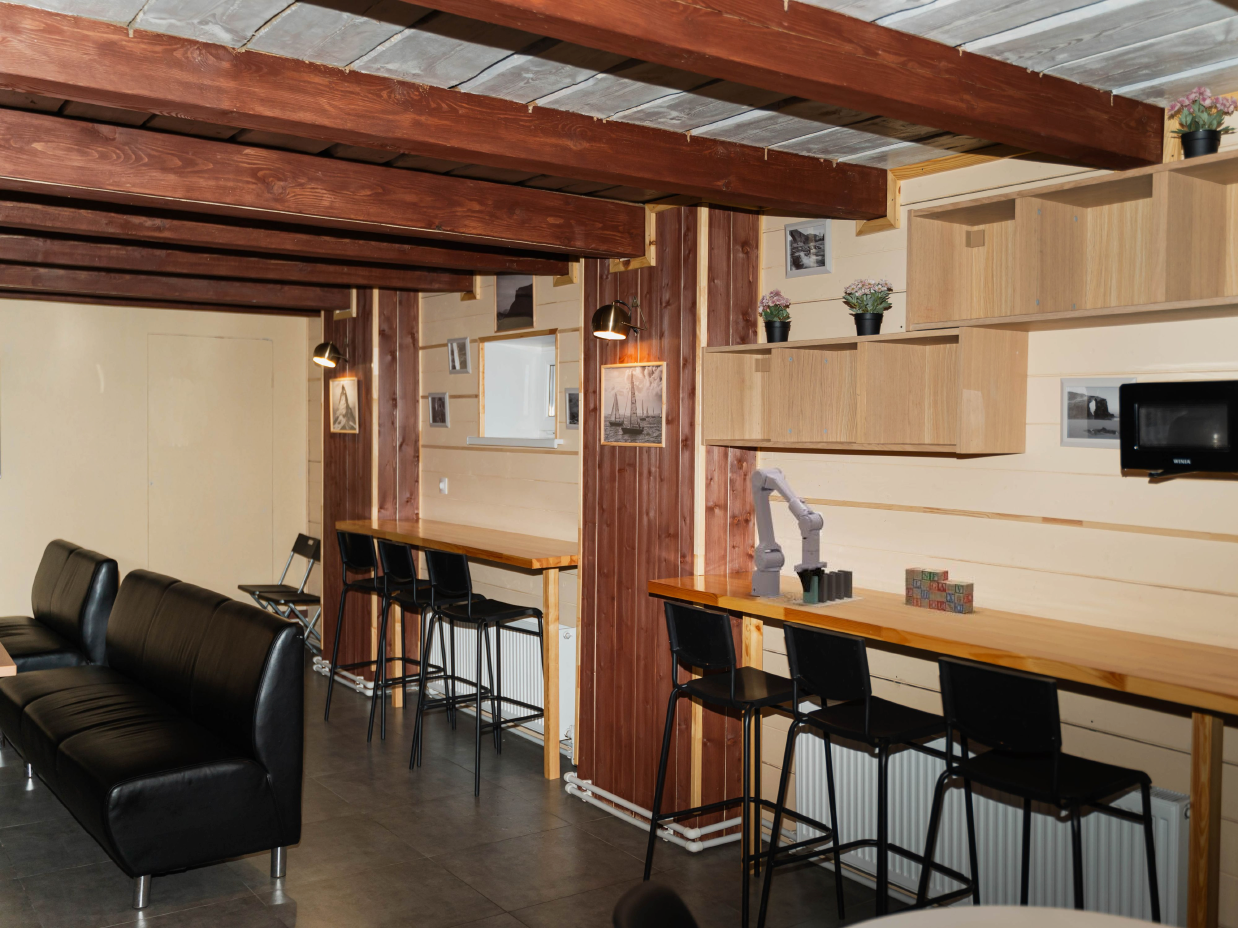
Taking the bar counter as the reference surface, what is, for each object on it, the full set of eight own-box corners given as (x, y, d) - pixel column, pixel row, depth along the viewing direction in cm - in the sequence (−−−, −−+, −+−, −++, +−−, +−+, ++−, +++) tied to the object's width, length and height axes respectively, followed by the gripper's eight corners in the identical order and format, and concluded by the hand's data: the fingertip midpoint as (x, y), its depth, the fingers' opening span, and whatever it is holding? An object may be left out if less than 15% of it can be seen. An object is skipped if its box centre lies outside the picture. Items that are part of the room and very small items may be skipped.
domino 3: (832, 601, 354) (832, 574, 354) (820, 599, 358) (820, 572, 358) (835, 600, 355) (835, 573, 355) (823, 598, 359) (823, 572, 359)
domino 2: (823, 602, 352) (824, 575, 351) (811, 600, 355) (812, 573, 355) (826, 602, 353) (827, 575, 352) (815, 600, 356) (815, 573, 356)
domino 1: (814, 604, 349) (814, 577, 348) (802, 602, 353) (802, 575, 352) (817, 603, 350) (817, 576, 349) (806, 601, 354) (806, 574, 353)
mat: (789, 603, 353) (789, 601, 353) (837, 594, 369) (837, 593, 369) (818, 608, 344) (818, 606, 344) (865, 599, 360) (865, 598, 360)
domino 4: (840, 599, 357) (841, 573, 357) (829, 597, 361) (829, 571, 361) (843, 599, 358) (844, 572, 358) (832, 597, 362) (832, 570, 362)
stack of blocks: (973, 611, 338) (974, 573, 337) (963, 614, 333) (963, 575, 333) (915, 602, 354) (915, 566, 353) (904, 605, 350) (905, 568, 349)
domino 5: (849, 598, 360) (849, 571, 360) (837, 596, 364) (837, 570, 364) (852, 597, 361) (852, 571, 361) (840, 595, 365) (840, 569, 365)
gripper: (805, 553, 343) (805, 595, 343) (834, 549, 352) (834, 590, 352) (789, 551, 348) (789, 592, 349) (817, 547, 357) (817, 587, 358)
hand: (810, 591), depth 351 cm, fingers open, 4 cm apart
